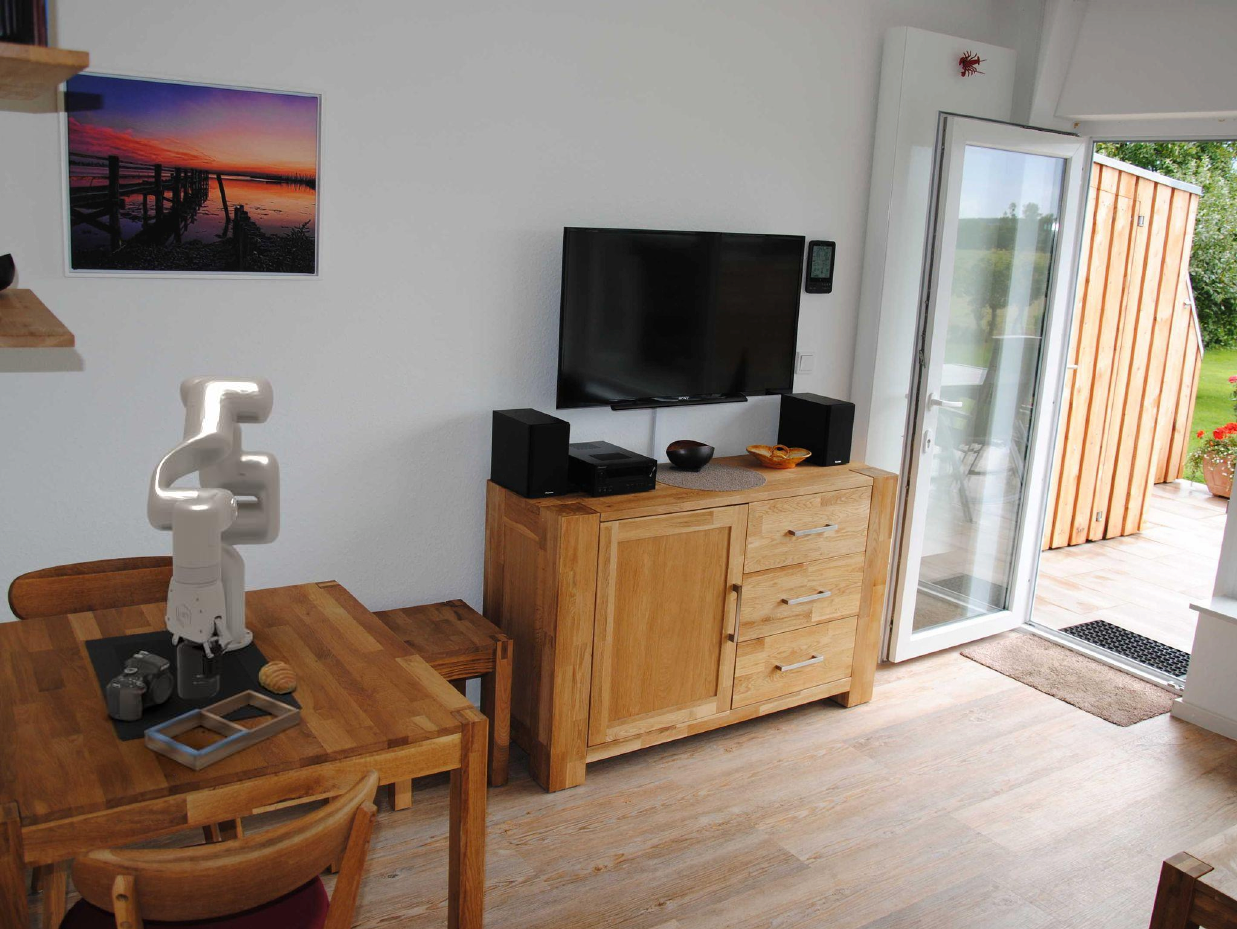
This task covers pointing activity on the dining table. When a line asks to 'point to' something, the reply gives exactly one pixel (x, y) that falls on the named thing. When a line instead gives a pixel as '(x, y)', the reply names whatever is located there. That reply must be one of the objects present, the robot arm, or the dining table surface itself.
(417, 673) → the dining table surface
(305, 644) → the dining table surface
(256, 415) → the robot arm
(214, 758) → the caddy
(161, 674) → the camera
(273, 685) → the pastry
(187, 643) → the supplement bottle
